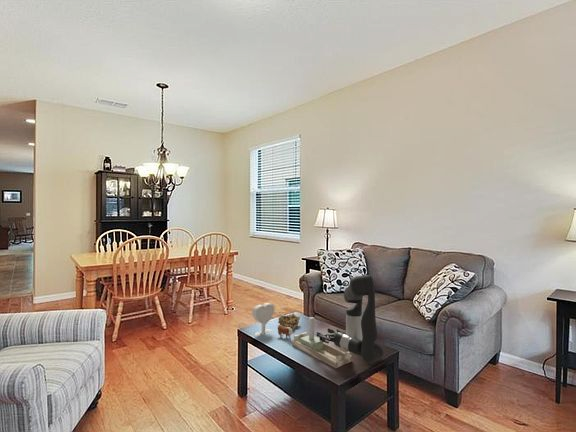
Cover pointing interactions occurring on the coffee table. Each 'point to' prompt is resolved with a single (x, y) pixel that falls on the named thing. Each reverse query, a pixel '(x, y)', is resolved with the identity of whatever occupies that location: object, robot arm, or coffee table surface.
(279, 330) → the bull figurine
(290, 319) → the mineral formation
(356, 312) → the robot arm
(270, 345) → the coffee table surface
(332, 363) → the bay
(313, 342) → the green block with post
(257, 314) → the heart sculpture
